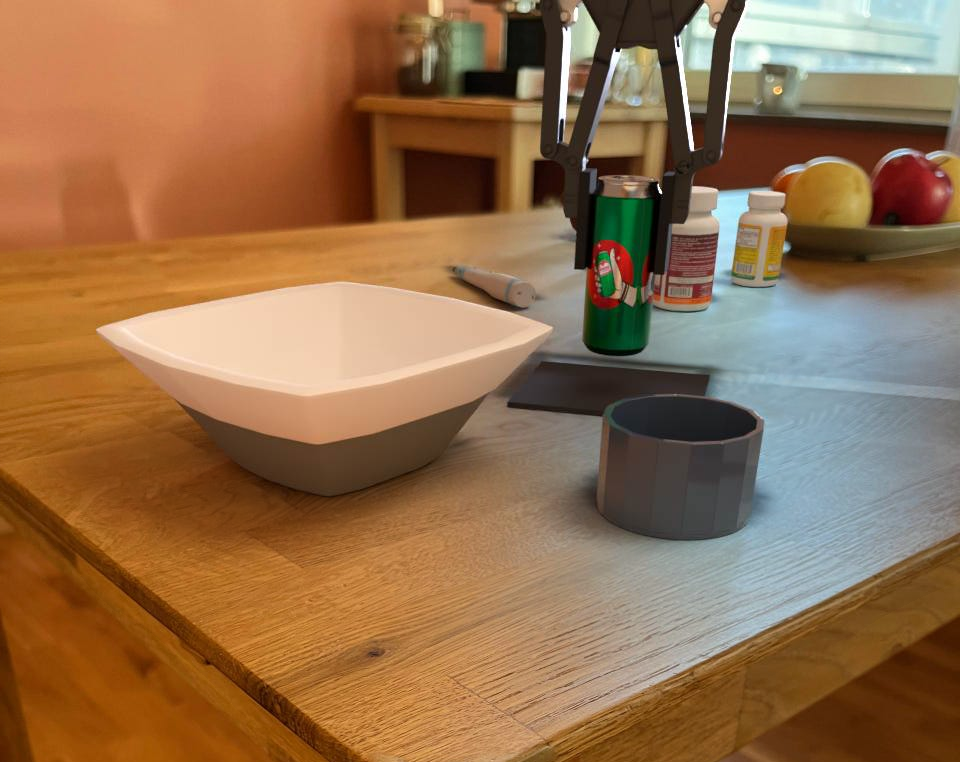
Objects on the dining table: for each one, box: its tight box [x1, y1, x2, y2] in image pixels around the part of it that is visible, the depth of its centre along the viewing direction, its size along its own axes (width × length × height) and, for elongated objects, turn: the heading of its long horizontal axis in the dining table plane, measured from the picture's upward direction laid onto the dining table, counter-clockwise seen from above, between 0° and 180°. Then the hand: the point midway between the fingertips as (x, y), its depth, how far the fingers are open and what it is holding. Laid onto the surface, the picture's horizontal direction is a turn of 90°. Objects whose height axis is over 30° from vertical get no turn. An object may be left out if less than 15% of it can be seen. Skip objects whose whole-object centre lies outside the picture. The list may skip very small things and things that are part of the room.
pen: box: [452, 265, 537, 308], centre depth 111 cm, size 19×3×3 cm, turn 24°
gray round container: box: [596, 394, 765, 541], centre depth 58 cm, size 9×9×6 cm
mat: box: [506, 360, 710, 417], centre depth 79 cm, size 14×12×1 cm
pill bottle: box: [653, 185, 721, 312], centre depth 104 cm, size 6×6×11 cm
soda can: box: [581, 174, 662, 357], centre depth 75 cm, size 5×5×12 cm
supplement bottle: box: [730, 190, 788, 288], centre depth 115 cm, size 5×5×10 cm
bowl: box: [95, 281, 554, 497], centre depth 64 cm, size 22×23×8 cm
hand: (621, 268), depth 75 cm, fingers closed on soda can, 5 cm apart
